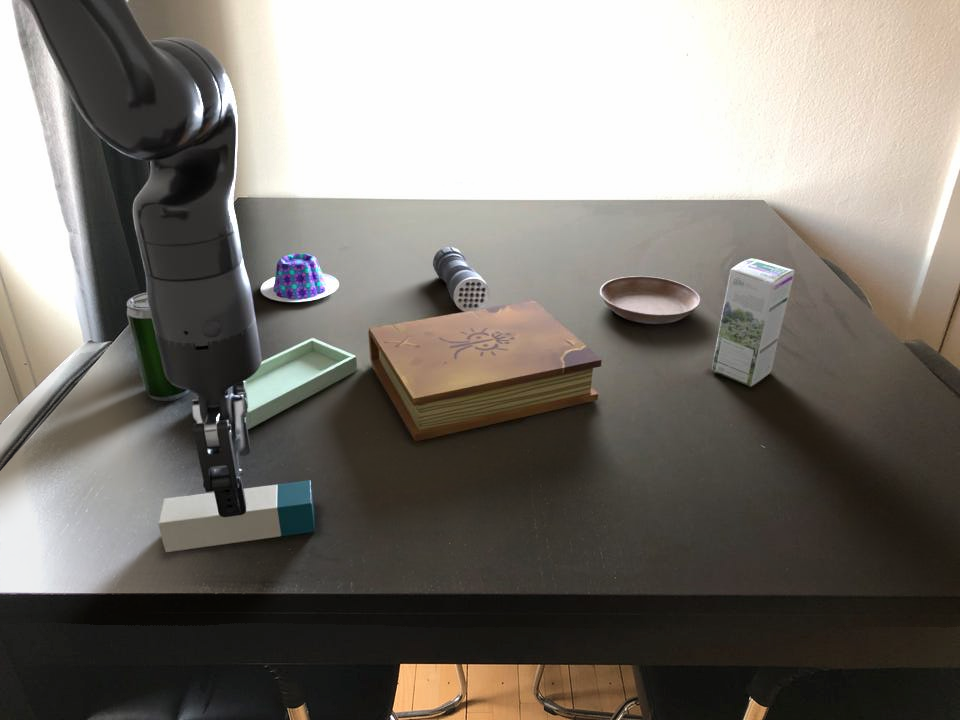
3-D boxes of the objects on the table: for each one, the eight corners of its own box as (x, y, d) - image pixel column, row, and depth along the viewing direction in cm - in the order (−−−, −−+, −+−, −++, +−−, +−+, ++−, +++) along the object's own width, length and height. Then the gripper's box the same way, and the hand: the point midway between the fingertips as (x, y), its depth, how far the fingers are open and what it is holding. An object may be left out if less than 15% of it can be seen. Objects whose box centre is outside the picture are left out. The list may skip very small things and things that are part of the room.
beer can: (148, 406, 86) (126, 313, 80) (144, 385, 90) (122, 295, 85) (196, 396, 88) (178, 305, 83) (190, 375, 93) (172, 287, 87)
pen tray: (246, 430, 82) (244, 414, 81) (202, 405, 87) (199, 390, 86) (357, 370, 94) (356, 356, 93) (313, 351, 99) (312, 337, 98)
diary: (529, 335, 104) (531, 297, 101) (597, 401, 89) (602, 359, 86) (370, 363, 96) (367, 324, 93) (414, 441, 81) (413, 396, 78)
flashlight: (430, 276, 122) (430, 244, 120) (462, 273, 124) (462, 242, 121) (454, 314, 110) (454, 280, 107) (489, 310, 111) (490, 276, 108)
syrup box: (772, 373, 96) (797, 268, 89) (749, 389, 92) (774, 281, 85) (732, 357, 99) (753, 255, 92) (709, 372, 96) (729, 267, 89)
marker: (165, 552, 66) (157, 523, 64) (170, 527, 68) (163, 498, 67) (315, 531, 68) (311, 503, 67) (313, 508, 71) (310, 479, 69)
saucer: (601, 286, 120) (602, 270, 118) (695, 295, 117) (698, 279, 116) (594, 325, 107) (596, 308, 106) (700, 336, 104) (703, 319, 103)
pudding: (333, 272, 123) (330, 242, 120) (344, 301, 113) (342, 269, 110) (258, 280, 120) (254, 249, 117) (263, 310, 110) (258, 277, 107)
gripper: (166, 286, 63) (199, 442, 71) (138, 366, 51) (182, 543, 59) (257, 279, 65) (280, 432, 73) (251, 355, 53) (279, 529, 60)
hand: (236, 482), depth 66 cm, fingers open, 8 cm apart
